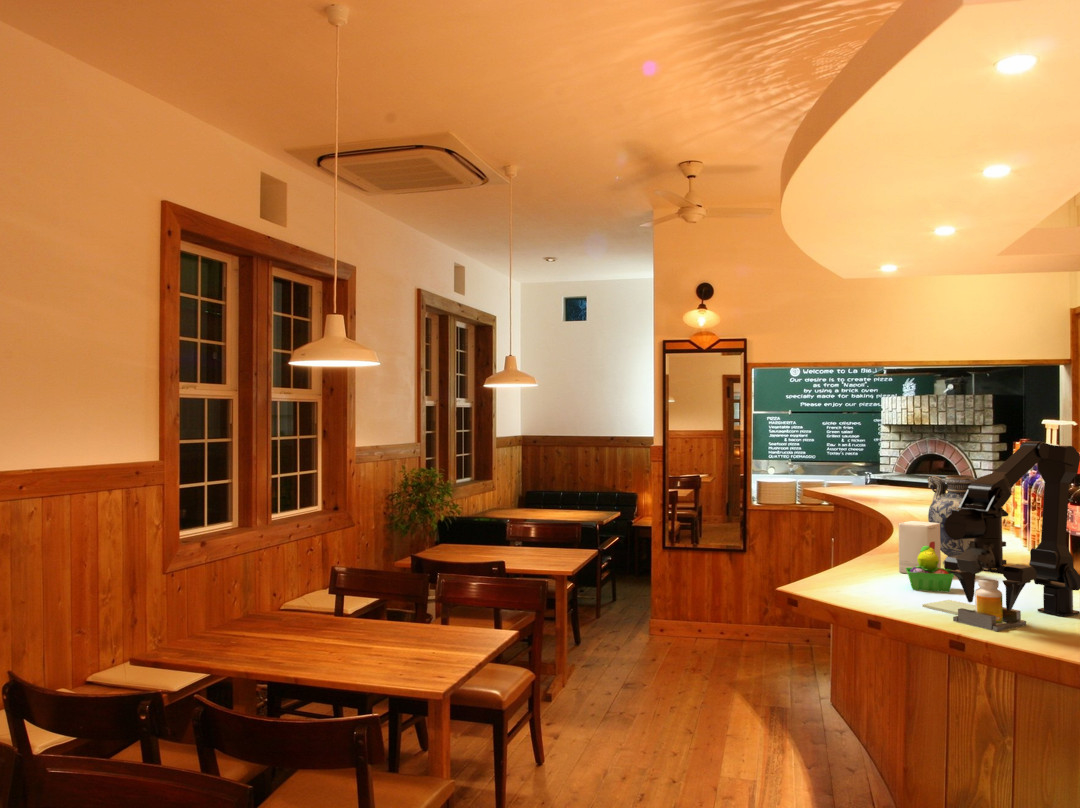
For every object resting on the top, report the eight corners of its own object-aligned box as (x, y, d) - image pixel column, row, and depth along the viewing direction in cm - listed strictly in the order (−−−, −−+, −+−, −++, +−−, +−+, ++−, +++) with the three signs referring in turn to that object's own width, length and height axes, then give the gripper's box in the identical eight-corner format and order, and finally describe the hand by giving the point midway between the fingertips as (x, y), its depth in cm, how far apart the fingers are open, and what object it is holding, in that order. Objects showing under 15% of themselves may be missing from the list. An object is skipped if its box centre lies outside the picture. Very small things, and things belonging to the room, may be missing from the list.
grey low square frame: (982, 615, 192) (981, 602, 192) (1026, 625, 182) (1026, 611, 182) (953, 621, 187) (952, 607, 187) (997, 631, 178) (996, 617, 178)
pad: (949, 602, 206) (948, 599, 206) (986, 610, 197) (986, 607, 197) (922, 606, 201) (922, 604, 201) (959, 615, 192) (959, 612, 192)
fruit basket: (908, 590, 220) (907, 548, 220) (905, 584, 228) (904, 543, 228) (955, 593, 216) (954, 550, 216) (950, 586, 224) (950, 545, 224)
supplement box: (928, 577, 238) (927, 525, 238) (898, 573, 244) (897, 522, 245) (942, 573, 244) (941, 522, 244) (911, 569, 250) (911, 520, 250)
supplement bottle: (1006, 626, 181) (1005, 583, 182) (980, 625, 183) (979, 582, 183) (998, 620, 187) (997, 578, 187) (972, 620, 188) (971, 577, 188)
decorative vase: (1012, 566, 252) (1009, 475, 253) (981, 574, 242) (978, 479, 242) (945, 557, 270) (942, 472, 270) (913, 564, 259) (910, 476, 260)
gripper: (927, 534, 190) (929, 602, 189) (1005, 545, 173) (1007, 619, 173) (958, 531, 195) (960, 596, 194) (1037, 541, 178) (1038, 613, 178)
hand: (989, 606), depth 185 cm, fingers open, 9 cm apart
